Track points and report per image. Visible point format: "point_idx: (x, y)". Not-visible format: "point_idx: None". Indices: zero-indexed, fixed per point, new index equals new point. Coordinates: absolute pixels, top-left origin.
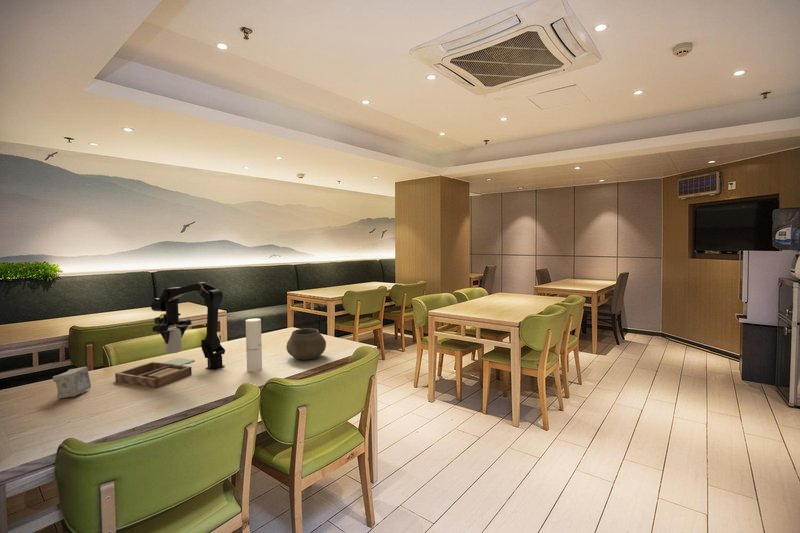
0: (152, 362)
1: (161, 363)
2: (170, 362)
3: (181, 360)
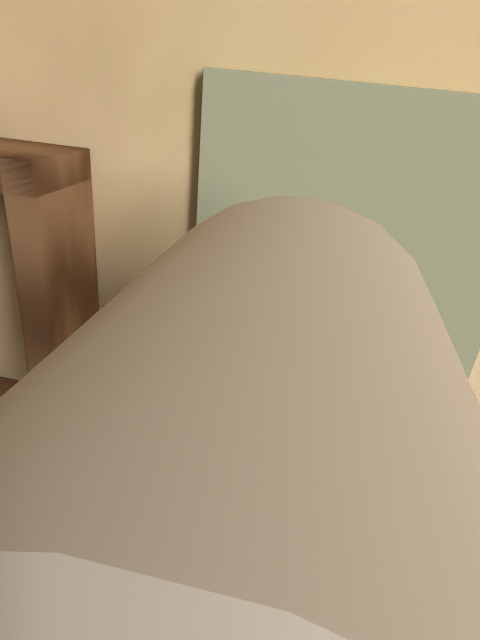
0: (3, 192)
1: (30, 336)
2: (325, 182)
3: (429, 267)
